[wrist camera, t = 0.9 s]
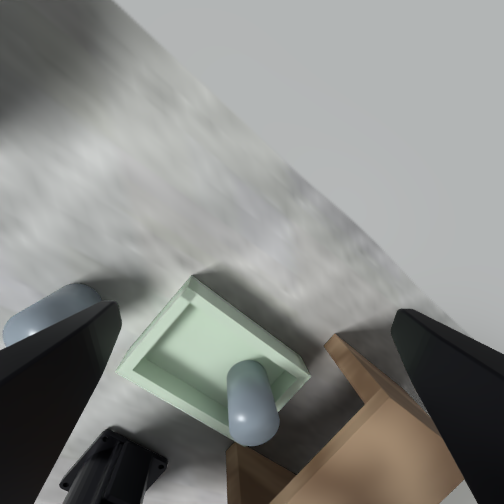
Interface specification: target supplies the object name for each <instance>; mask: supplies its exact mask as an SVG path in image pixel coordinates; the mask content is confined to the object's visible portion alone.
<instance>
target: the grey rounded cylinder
mask: <svg viewBox="0 0 504 504" xmlns="http://www.w3.org/2000/svg"><path fill="white" fill-rule="evenodd" d="M100 301H102V299H101V297H100V295H99V294H98V293H97V292H96V291H95V290H94V289H93V288H91V287H89V286H87V285H84V284H69V285H66V286H64V287H62V288H60V289H59V290H57V291H55V292H54V293H52V294H50V295H48V296H47V297H45V298H43V299H42V300H40V301H38V302H36V303H35V304H33V305H31V306H30V307H28V308H26V309H24V310H23V311H21V312H19V313H18V314H16V315H14V316H13V317H11V318H10V319H9V320H8V321H7V323H6V324H5V327H4V330H3V340H4V343H5V346H6V347H8V346H10V345H12V344H14V343H16V342H18V341H20V340H22V339H24V338H26V337H28V336H31V335H33V334H35V333H37V332H39V331H41V330H43V329H45V328H47V327H49V326H51V325H53V324H55V323H57V322H59V321H61V320H63V319H65V318H67V317H69V316H71V315H73V314H75V313H78V312H80V311H82V310H84V309H86V308H88V307H90V306H92V305H94V304H96V303H98V302H100Z"/></svg>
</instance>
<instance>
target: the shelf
mask: <svg viewBox="0 0 504 504" xmlns="http://www.w3.org/2000/svg"><path fill="white" fill-rule="evenodd" d="M324 347H325V349H326V350H327V352H328V353H329V354H330V356H331V357H332V359H333V360H334V361H335V363H336V364H337V366H338V367H339V368H340V370H341V371H342V373H343V374H344V375H345V377H346V378H347V380H348V381H349V382H350V384H351V385H352V387H353V388H354V389H355V391H356V392H357V394H358V395H359V396H360V398H361V399H362V401H363V402H364V403H365V405H364V406H363V407H362V408H361V409H360V410H359V411H358V412H357V413H356V414H355V415H354V416H353V417H352V418H351V419H350V420H349V422H348V423H347V424H346V425H345V426H344V427H343V428H342V429H341V430H340V431H339V432H338V433H337V434H336V435H335V436H334V437H333V438H332V439H331V440H330V441H329V442H328V443H327V444H326V445H325V446H324V447H323V448H322V449H321V450H320V452H319V453H318V454H317V455H316V456H315V457H314V458H313V459H312V460H311V461H310V462H309V463H308V464H307V465H306V466H305V467H304V468H303V469H302V470H301V471H300V472H299V473H298V474H297V475H295V474H294V473H292V472H290V471H288V470H287V469H285V468H283V467H282V466H280V465H278V464H276V463H275V462H273V461H271V460H270V459H268V458H266V457H264V456H263V455H261V454H259V453H257V452H256V451H254V450H252V449H251V448H249V447H247V446H246V447H243V446H242V445H240V444H238V443H236V442H234V443H233V444H232V445H231V446H230V448H229V449H228V450H227V451H226V472H227V502H228V504H439V503H440V502H441V501H442V500H443V499H444V498H445V497H447V496H448V495H449V494H450V493H451V492H452V491H453V490H454V489H455V488H456V487H457V486H458V485H459V484H460V483H461V482H462V481H463V480H464V477H463V476H462V474H461V472H460V470H459V468H458V466H457V465H456V463H455V461H454V459H453V457H452V455H451V454H450V452H449V450H448V448H447V446H446V444H445V443H444V441H443V439H442V437H441V435H440V433H439V432H438V430H437V428H436V426H435V424H434V422H433V421H432V419H431V417H430V416H429V415H428V414H427V413H426V412H425V411H424V410H423V409H422V408H421V407H420V406H419V405H418V404H417V403H416V402H415V401H414V400H413V399H412V398H411V397H410V396H409V395H408V394H407V392H406V391H405V390H404V389H403V388H401V387H400V386H399V385H398V384H396V383H395V382H394V381H393V380H391V379H390V378H389V377H388V376H387V375H385V374H384V373H383V372H382V371H380V370H379V369H378V368H377V367H375V366H374V365H373V364H372V363H371V362H369V361H368V360H367V359H366V358H364V357H363V356H362V355H361V354H359V353H358V352H357V351H356V350H354V349H353V348H352V347H351V346H350V345H348V344H347V343H346V342H345V341H343V340H342V339H341V338H340V337H338V336H337V335H336V334H334V335H333V336H332V337H331V338H330V339H329V341H328V342H327V343H326V344H325V345H324Z"/></svg>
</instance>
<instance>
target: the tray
mask: <svg viewBox="0 0 504 504" xmlns="http://www.w3.org/2000/svg"><path fill="white" fill-rule="evenodd" d="M244 360H253V361H256V362H259V363H260V364H261V365H263V367H264V368H265V370H266V373H267V376H268V380H269V384H270V387H271V391H272V394H273V398H274V401H275V405H276V408H277V412H279V411H280V410H281V408H282V407H283V406H284V405H285V404H286V403H287V402H288V401H289V400H290V399H291V398H292V397H293V396H294V395H295V393H296V392H297V391H298V390H299V389H300V388H301V387H302V386H303V385H304V384H305V383H306V382H307V381H308V380H309V378H310V377H311V375H310V373H309V371H308V369H307V368H306V366H305V364H304V362H303V360H302V358H301V356H300V355H298V354H297V353H296V352H294V351H293V350H291V349H290V348H289V347H287V346H286V345H285V344H283V343H282V342H281V341H279V340H278V339H277V338H275V337H274V336H273V335H271V334H270V333H269V332H267V331H266V330H265V329H263V328H262V327H261V326H259V325H258V324H257V323H255V322H254V321H252V320H251V319H250V318H248V317H247V316H246V315H244V314H243V313H242V312H240V311H239V310H238V309H236V308H235V307H234V306H232V305H231V304H230V303H228V302H227V301H226V300H224V299H223V298H222V297H220V296H219V295H218V294H216V293H215V292H213V291H212V290H211V289H209V288H208V287H207V286H205V285H204V284H203V283H201V282H200V281H199V280H197V279H196V278H195V277H193V276H192V275H191V277H190V278H189V279H188V280H187V281H186V282H185V284H184V285H183V286H182V287H181V288H180V290H179V291H178V292H177V293H176V294H175V295H174V297H173V298H172V299H171V300H170V301H169V303H168V304H167V305H166V306H165V307H164V308H163V310H162V311H161V312H160V313H159V314H158V316H157V317H156V318H155V319H154V320H153V321H152V323H151V324H150V325H149V326H148V327H147V329H146V330H145V331H144V332H143V333H142V334H141V336H140V337H139V338H138V339H137V340H136V342H135V343H134V344H133V345H132V346H131V347H130V349H129V350H128V351H127V353H126V355H125V356H124V358H123V360H122V362H121V363H120V365H119V367H118V368H117V370H116V372H115V373H117V374H119V375H120V376H122V377H124V378H125V379H127V380H129V381H131V382H132V383H134V384H136V385H138V386H139V387H141V388H143V389H145V390H146V391H148V392H150V393H152V394H153V395H155V396H157V397H158V398H160V399H162V400H164V401H165V402H167V403H169V404H171V405H172V406H174V407H176V408H178V409H179V410H181V411H183V412H184V413H186V414H188V415H190V416H191V417H193V418H195V419H197V420H198V421H200V422H202V423H204V424H205V425H207V426H209V427H210V428H212V429H214V430H216V431H217V432H219V433H221V434H223V435H224V436H226V437H228V438H230V439H231V440H233V441H235V440H234V439H233V438H232V437H231V435H230V432H229V418H228V399H227V374H228V372H229V370H230V369H231V367H232V366H234V365H235V364H236V363H238V362H240V361H244ZM235 442H236V441H235ZM236 443H237V442H236ZM238 444H239V443H238ZM240 445H241V444H240ZM242 446H243V447H246V446H245V445H242Z"/></svg>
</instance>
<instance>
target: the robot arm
mask: <svg viewBox="0 0 504 504" xmlns="http://www.w3.org/2000/svg"><path fill="white" fill-rule="evenodd" d="M121 327H122V320H121V316H120V311H119V306H118V303H117V302H116V301H107V300H103V301H100V302H98V303H96V304H94V305H92V306H90V307H88V308H86V309H84V310H82V311H80V312H78V313H75V314H73V315H71V316H69V317H67V318H65V319H63V320H61V321H59V322H57V323H55V324H53V325H51V326H49V327H47V328H45V329H43V330H41V331H39V332H37V333H35V334H33V335H31V336H28V337H26V338H24V339H22V340H20V341H18V342H16V343H14V344H12V345H10V346H8V347H6V348H4V349H2V350H0V504H34V502H35V500H36V498H37V497H38V495H39V493H40V491H41V489H42V487H43V485H44V483H45V482H46V480H47V478H48V476H49V474H50V472H51V470H52V468H53V467H54V465H55V463H56V461H57V459H58V457H59V455H60V453H61V452H62V450H63V448H64V446H65V444H66V442H67V440H68V438H69V437H70V435H71V433H72V431H73V429H74V427H75V425H76V423H77V422H78V420H79V418H80V416H81V414H82V412H83V410H84V408H85V407H86V405H87V403H88V401H89V399H90V397H91V395H92V393H93V392H94V390H95V388H96V386H97V384H98V382H99V380H100V378H101V376H102V374H103V372H104V369H105V367H106V365H107V362H108V360H109V357H110V355H111V352H112V350H113V347H114V345H115V343H116V340H117V338H118V335H119V333H120V330H121ZM391 335H392V338H393V340H394V343H395V345H396V347H397V350H398V352H399V354H400V357H401V359H402V361H403V364H404V366H405V368H406V371H407V373H408V375H409V377H410V380H411V382H412V384H413V386H414V387H415V389H416V391H417V393H418V395H419V397H420V399H421V400H422V402H423V404H424V406H425V408H426V410H427V411H428V413H429V415H430V417H431V419H432V421H433V422H434V424H435V426H436V428H437V430H438V432H439V433H440V435H441V437H442V439H443V441H444V443H445V444H446V446H447V448H448V450H449V452H450V454H451V455H452V457H453V459H454V461H455V463H456V465H457V466H458V468H459V470H460V472H461V474H462V476H463V477H464V479H465V481H466V483H467V485H468V487H469V488H470V490H471V492H472V494H473V495H474V498H475V499H476V501H477V503H478V504H504V354H502V353H500V352H498V351H496V350H494V349H492V348H490V347H488V346H486V345H484V344H482V343H480V342H478V341H476V340H474V339H472V338H470V337H468V336H466V335H464V334H462V333H460V332H458V331H456V330H454V329H452V328H450V327H448V326H446V325H444V324H442V323H440V322H438V321H436V320H434V319H432V318H430V317H428V316H426V315H424V314H422V313H420V312H418V311H416V310H413V309H399V310H398V311H397V313H396V315H395V318H394V321H393V324H392V327H391ZM167 464H168V461H167V459H166V458H164V457H162V456H160V455H158V454H156V453H154V452H152V451H150V450H148V449H146V448H144V447H142V446H140V445H138V444H136V443H134V442H132V441H130V440H128V439H127V438H125V437H123V436H121V435H119V434H117V433H115V432H113V431H111V430H105V431H103V432H102V433H101V434H100V435H99V437H98V438H97V439H96V440H95V441H94V442H93V444H92V445H91V446H90V447H89V448H88V449H87V451H86V452H85V453H84V454H83V455H82V456H81V457H80V459H79V460H78V461H77V462H76V463H75V464H74V466H73V467H72V468H71V469H70V470H69V471H68V472H67V474H66V475H65V476H64V477H63V479H62V481H61V482H60V484H59V486H60V488H62V489H63V490H66V491H68V494H67V496H66V498H65V500H64V502H63V504H142V503H143V499H144V495H145V492H146V491H147V490H148V489H149V487H150V486H151V485H152V484H153V483H154V482H155V481H156V480H157V479H158V478H159V476H160V475H161V474H162V473H163V472H164V471H165V470H166V468H167Z"/></svg>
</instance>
